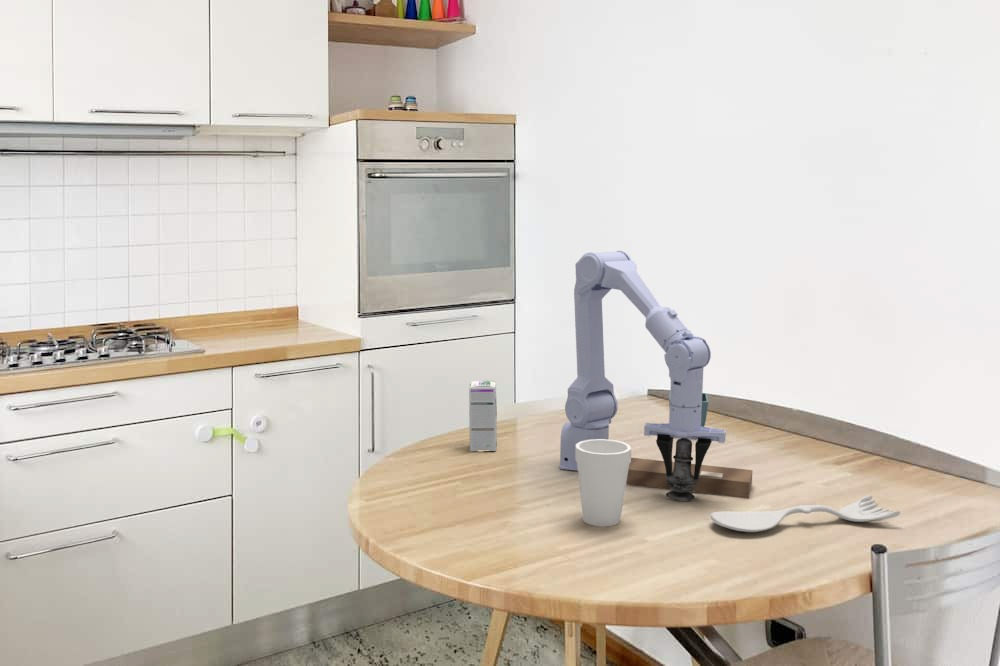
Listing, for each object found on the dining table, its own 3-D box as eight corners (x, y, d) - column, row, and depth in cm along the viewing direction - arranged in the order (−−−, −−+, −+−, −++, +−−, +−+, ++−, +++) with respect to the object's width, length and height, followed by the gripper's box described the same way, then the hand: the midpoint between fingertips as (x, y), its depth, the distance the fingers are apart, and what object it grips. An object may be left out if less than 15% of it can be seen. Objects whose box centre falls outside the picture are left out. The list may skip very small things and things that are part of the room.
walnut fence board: (620, 483, 180) (620, 466, 180) (628, 471, 188) (628, 455, 187) (748, 498, 173) (749, 480, 172) (751, 485, 180) (752, 468, 180)
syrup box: (496, 452, 201) (496, 386, 198) (468, 452, 201) (469, 385, 198) (496, 445, 206) (497, 380, 204) (469, 444, 206) (470, 380, 204)
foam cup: (564, 514, 163) (566, 442, 161) (611, 507, 167) (613, 437, 165) (590, 533, 155) (592, 457, 153) (639, 525, 158) (641, 451, 156)
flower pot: (667, 438, 213) (669, 399, 212) (667, 428, 222) (668, 391, 220) (706, 440, 212) (708, 401, 210) (705, 430, 220) (706, 393, 219)
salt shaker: (696, 503, 170) (701, 439, 168) (663, 499, 171) (667, 436, 169) (696, 492, 175) (701, 430, 173) (664, 489, 177) (669, 427, 175)
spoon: (900, 529, 159) (902, 509, 158) (723, 541, 152) (724, 521, 152) (869, 511, 167) (871, 492, 167) (701, 522, 161) (702, 502, 160)
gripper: (642, 405, 169) (639, 478, 171) (724, 412, 164) (720, 487, 166) (649, 397, 175) (646, 467, 178) (728, 403, 171) (724, 475, 173)
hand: (682, 476), depth 172 cm, fingers open, 4 cm apart
